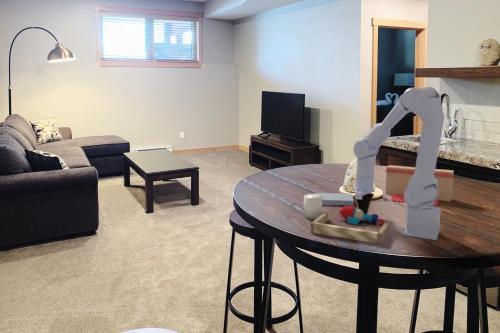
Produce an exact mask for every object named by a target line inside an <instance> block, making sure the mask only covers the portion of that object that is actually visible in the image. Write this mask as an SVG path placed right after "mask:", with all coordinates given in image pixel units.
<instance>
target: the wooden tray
mask: <svg viewBox="0 0 500 333" xmlns="http://www.w3.org/2000/svg"><path fill="white" fill-rule="evenodd" d="M328 221H329V212H328V211H324V212H322V215H320V216H319V217H318V218H317V219H313V221H312V222H311V223H310V233H313V234H317V235H318V234H319V235H324V236H329V237H330V236H331V237H335V238H336V237H337V238H341V239H342V238H343V239H347V240H354V241H355V240H356V241H361V242H367V243H373V244H376V245H377V244H378V245H382V243H383V241H384V240H385V238H386V236H388V234H389V232H390V231H391V221H390V220H385V223H384V225H383V226H380V229H379V230H378V231H373V230H372V231H371V230H365V229H358V228H353V227H346V226H340V225H333V224H327V222H328Z"/></svg>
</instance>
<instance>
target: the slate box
mask: <svg viewBox="0 0 500 333" xmlns="http://www.w3.org/2000/svg"><path fill="white" fill-rule="evenodd" d="M315 194H318V195H321V196H322V197H323V201H322V206H338V205H343V207H346V206H352V207H355V206H354V205H355V202H354V201H355V200H354V196H353V193H345V192H344V193H341V192H340V193H339V192H337V193H336V192H335V193H334V192H315Z"/></svg>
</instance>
